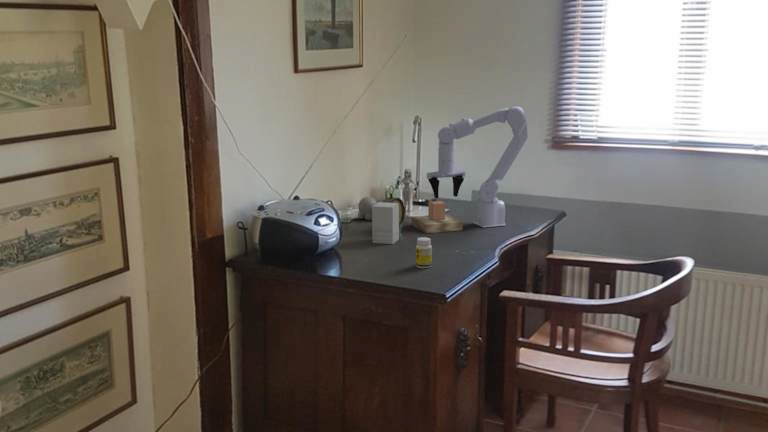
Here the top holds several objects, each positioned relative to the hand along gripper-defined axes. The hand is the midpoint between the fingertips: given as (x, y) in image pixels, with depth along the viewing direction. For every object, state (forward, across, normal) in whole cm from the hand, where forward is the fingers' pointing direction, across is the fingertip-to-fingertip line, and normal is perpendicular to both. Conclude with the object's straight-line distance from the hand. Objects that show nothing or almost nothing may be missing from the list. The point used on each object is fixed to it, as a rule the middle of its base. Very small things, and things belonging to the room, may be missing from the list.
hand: (445, 196), depth 279 cm
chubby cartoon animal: (+10, -23, +15) cm, 29 cm away
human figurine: (+10, -8, +18) cm, 22 cm away
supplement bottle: (+10, -29, -49) cm, 58 cm away
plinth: (+10, -6, -5) cm, 12 cm away
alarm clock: (+10, -23, -4) cm, 25 cm away
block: (+7, -6, -5) cm, 10 cm away
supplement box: (+10, -30, -17) cm, 36 cm away
